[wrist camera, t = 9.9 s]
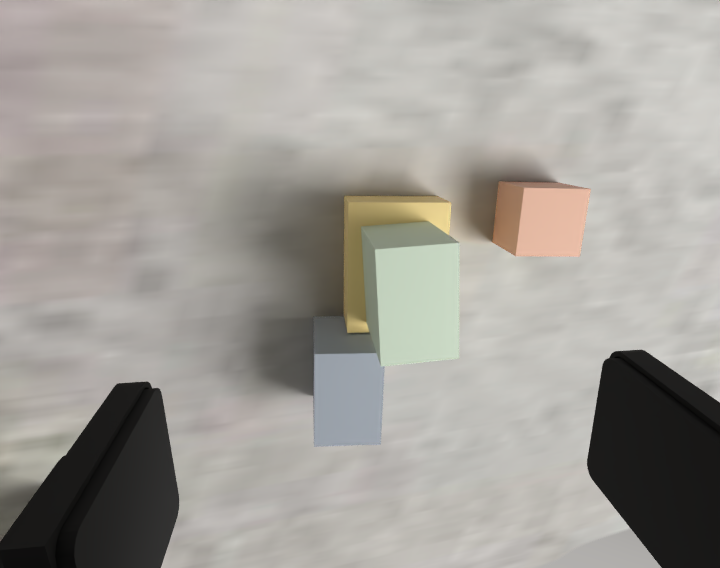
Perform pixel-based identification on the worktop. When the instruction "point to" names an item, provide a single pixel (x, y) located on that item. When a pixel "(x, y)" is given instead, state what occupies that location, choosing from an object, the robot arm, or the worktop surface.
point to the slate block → (346, 386)
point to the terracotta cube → (540, 218)
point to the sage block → (411, 292)
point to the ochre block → (379, 213)
